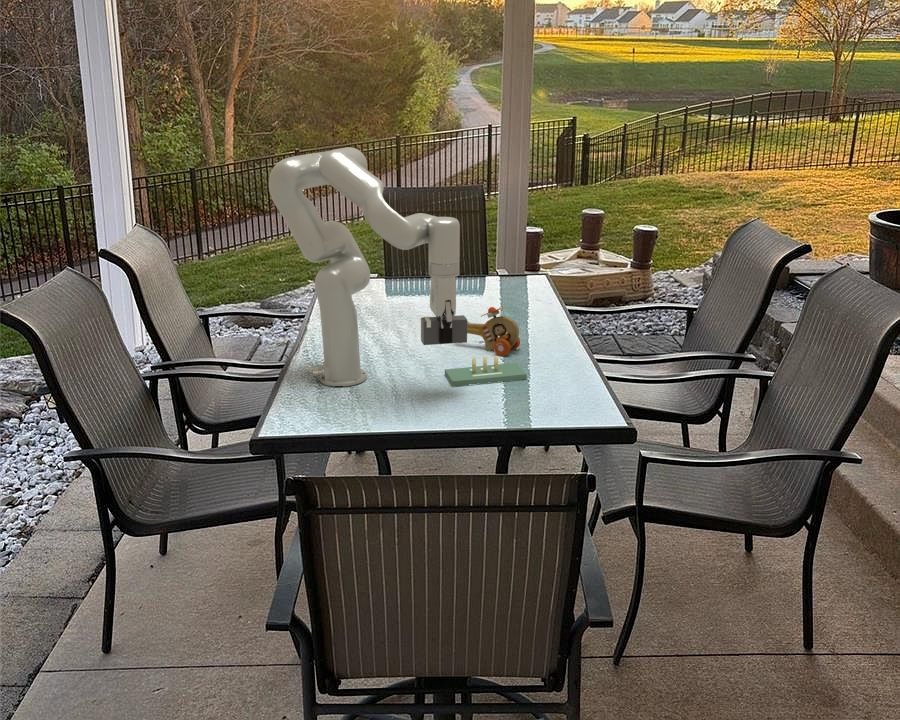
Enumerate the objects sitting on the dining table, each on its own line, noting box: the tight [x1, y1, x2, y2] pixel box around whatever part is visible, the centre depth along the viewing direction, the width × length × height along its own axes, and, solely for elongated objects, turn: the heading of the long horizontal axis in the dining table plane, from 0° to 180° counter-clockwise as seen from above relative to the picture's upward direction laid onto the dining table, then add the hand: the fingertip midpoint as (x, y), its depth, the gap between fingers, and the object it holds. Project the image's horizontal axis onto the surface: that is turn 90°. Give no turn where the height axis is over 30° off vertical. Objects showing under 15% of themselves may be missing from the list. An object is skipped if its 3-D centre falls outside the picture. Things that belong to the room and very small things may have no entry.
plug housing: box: [420, 314, 468, 346], centre depth 218 cm, size 11×4×6 cm, turn 102°
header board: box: [444, 355, 528, 388], centre depth 233 cm, size 20×10×6 cm, turn 102°
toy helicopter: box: [467, 306, 521, 357], centre depth 255 cm, size 8×21×14 cm, turn 60°
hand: (443, 339), depth 219 cm, fingers closed on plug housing, 3 cm apart
